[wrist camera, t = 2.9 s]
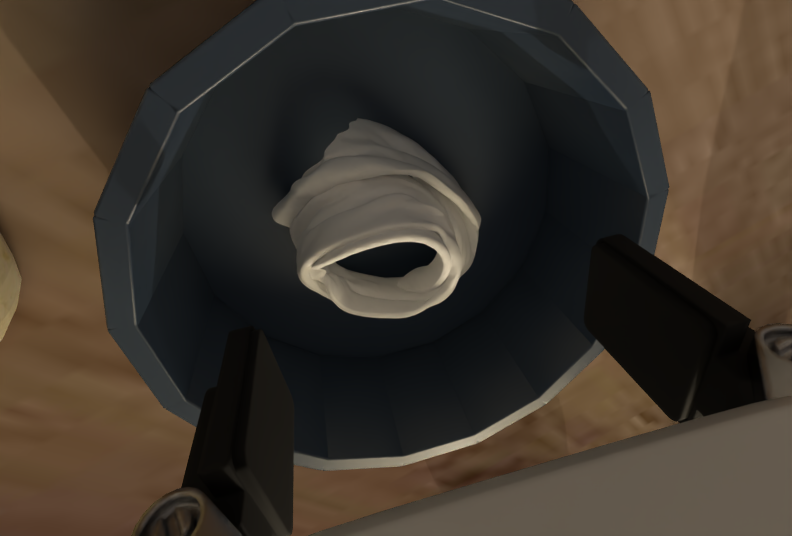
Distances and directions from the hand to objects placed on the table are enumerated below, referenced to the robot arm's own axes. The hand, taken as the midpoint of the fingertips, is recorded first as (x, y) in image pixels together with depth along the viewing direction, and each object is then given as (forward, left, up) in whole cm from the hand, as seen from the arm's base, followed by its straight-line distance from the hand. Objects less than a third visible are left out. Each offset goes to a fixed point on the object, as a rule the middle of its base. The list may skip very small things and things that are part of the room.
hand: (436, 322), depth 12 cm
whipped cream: (0, 0, -7) cm, 7 cm away
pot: (0, 0, -7) cm, 7 cm away
